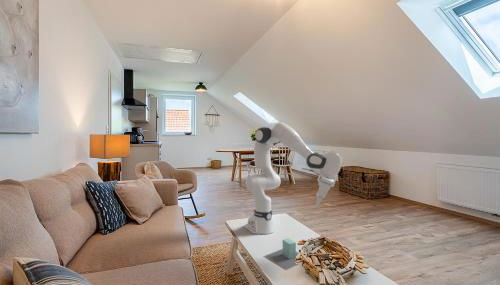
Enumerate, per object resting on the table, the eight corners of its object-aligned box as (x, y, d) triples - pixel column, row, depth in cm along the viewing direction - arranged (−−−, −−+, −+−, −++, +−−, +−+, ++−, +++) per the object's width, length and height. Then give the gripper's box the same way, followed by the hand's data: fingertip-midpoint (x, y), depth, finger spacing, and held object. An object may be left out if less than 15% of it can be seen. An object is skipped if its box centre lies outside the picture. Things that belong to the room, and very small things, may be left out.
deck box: (282, 254, 134) (282, 239, 134) (288, 252, 136) (288, 238, 135) (289, 259, 128) (289, 244, 128) (295, 257, 130) (295, 242, 130)
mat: (263, 257, 131) (263, 256, 131) (286, 248, 142) (286, 247, 142) (285, 271, 118) (285, 270, 118) (310, 259, 128) (310, 258, 128)
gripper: (319, 180, 141) (310, 203, 139) (321, 176, 121) (311, 202, 120) (330, 184, 139) (321, 207, 137) (333, 181, 119) (323, 208, 118)
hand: (316, 205), depth 128 cm, fingers open, 8 cm apart
